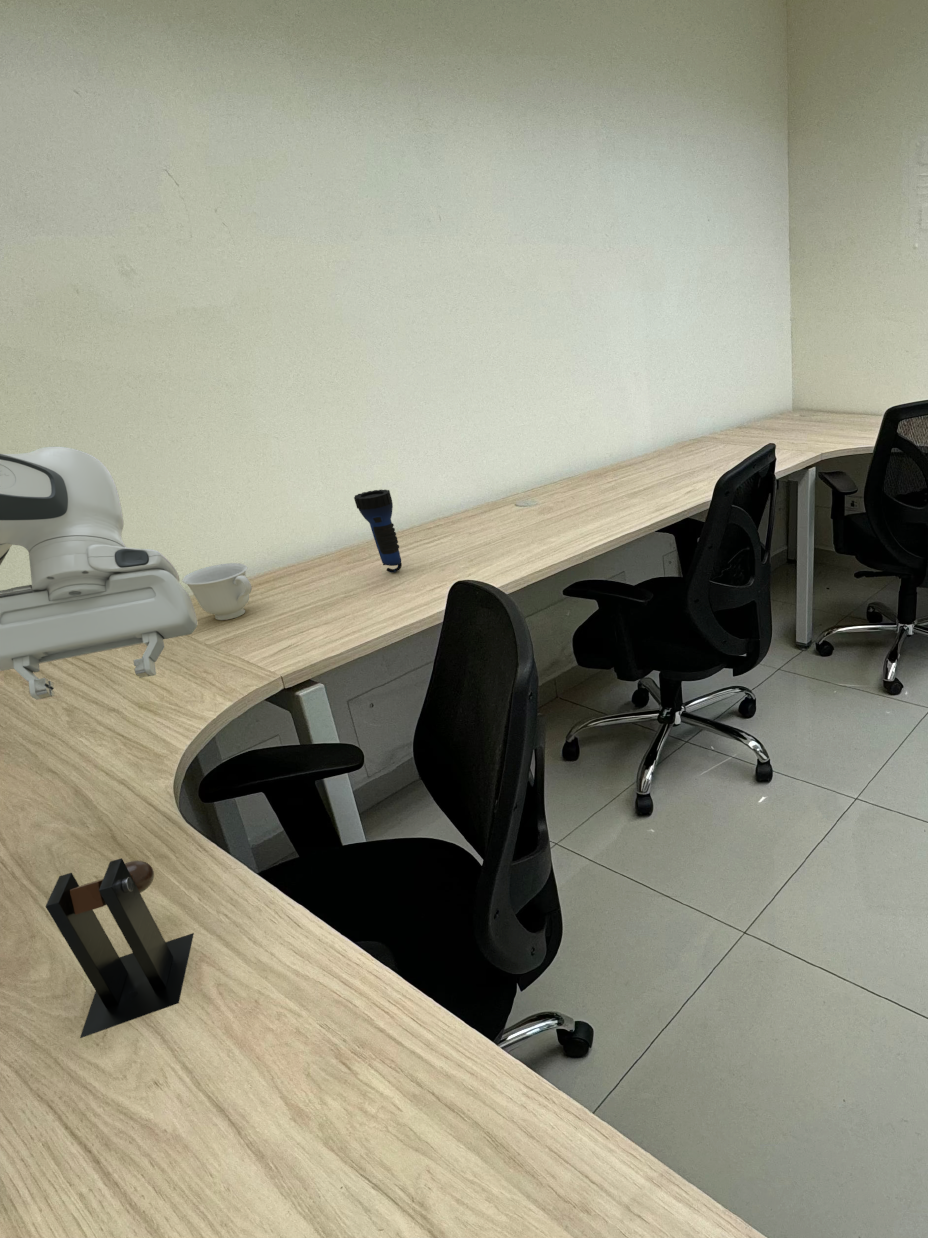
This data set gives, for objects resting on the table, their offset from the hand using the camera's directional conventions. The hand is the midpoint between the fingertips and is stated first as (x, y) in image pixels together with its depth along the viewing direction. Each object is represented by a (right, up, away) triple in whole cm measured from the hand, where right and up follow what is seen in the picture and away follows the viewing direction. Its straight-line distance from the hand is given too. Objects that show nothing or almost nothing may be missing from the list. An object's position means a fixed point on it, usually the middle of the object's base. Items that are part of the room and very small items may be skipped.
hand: (95, 685), depth 85 cm
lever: (+9, -22, -7) cm, 24 cm away
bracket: (+11, -31, -6) cm, 33 cm away
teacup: (-40, +9, +83) cm, 92 cm away
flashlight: (-14, +20, +103) cm, 106 cm away
